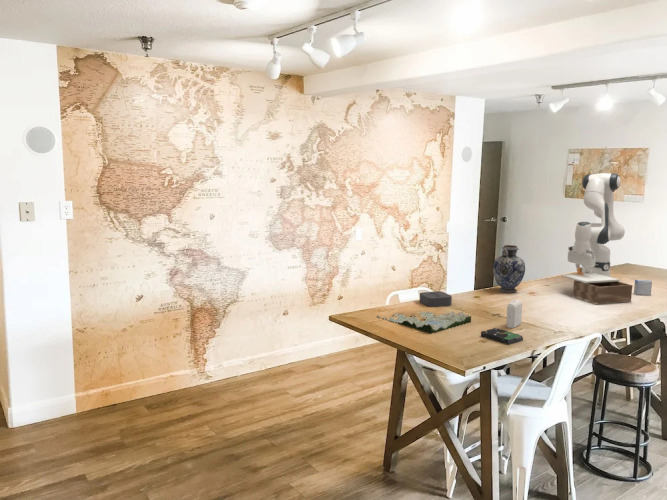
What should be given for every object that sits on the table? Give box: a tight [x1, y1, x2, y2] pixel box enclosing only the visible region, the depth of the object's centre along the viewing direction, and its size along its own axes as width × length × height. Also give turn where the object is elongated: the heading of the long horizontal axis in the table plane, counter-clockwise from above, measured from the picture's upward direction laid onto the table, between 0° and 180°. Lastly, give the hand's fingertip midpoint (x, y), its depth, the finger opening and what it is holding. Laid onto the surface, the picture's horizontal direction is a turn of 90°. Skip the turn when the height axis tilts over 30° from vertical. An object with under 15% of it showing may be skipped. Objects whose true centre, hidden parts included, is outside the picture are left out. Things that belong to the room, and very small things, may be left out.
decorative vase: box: [492, 244, 526, 294], centre depth 321 cm, size 21×19×28 cm
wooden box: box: [572, 280, 633, 306], centre depth 301 cm, size 20×22×10 cm
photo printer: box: [506, 299, 523, 329], centre depth 250 cm, size 10×4×12 cm, turn 140°
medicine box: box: [633, 279, 653, 296], centre depth 313 cm, size 8×4×9 cm, turn 84°
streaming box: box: [419, 291, 453, 308], centre depth 293 cm, size 14×14×5 cm
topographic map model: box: [376, 311, 472, 335], centre depth 261 cm, size 36×29×5 cm
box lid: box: [562, 266, 620, 283], centre depth 310 cm, size 20×22×5 cm
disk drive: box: [480, 327, 524, 346], centre depth 232 cm, size 10×3×15 cm
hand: (580, 271), depth 318 cm, fingers closed on box lid, 2 cm apart
